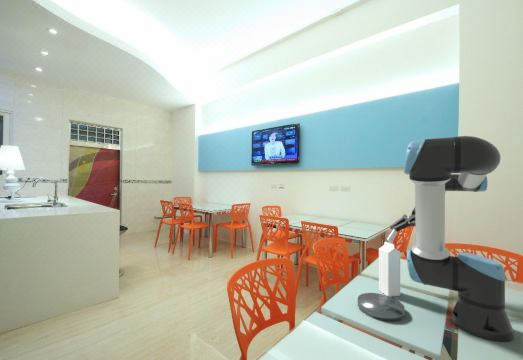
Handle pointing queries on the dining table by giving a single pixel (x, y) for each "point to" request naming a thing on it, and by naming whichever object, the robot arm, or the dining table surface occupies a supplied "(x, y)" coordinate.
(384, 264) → the milk
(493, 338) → the robot arm
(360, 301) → the dark grey plate
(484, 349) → the dining table surface
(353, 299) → the dining table surface
